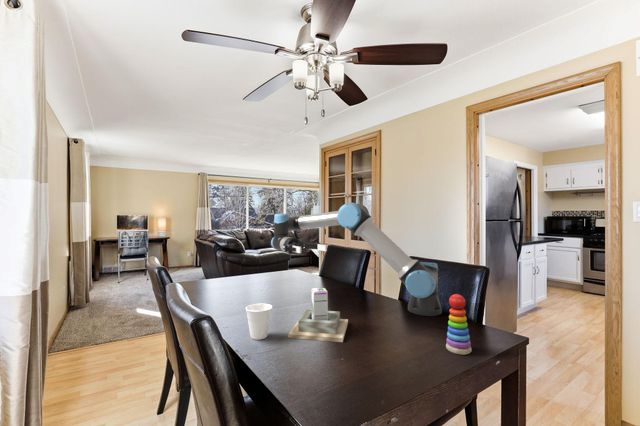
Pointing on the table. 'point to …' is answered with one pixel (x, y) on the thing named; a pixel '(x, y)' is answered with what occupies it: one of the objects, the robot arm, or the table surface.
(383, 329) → the table surface
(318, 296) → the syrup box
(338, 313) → the socket block
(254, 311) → the cup
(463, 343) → the stacking toy
